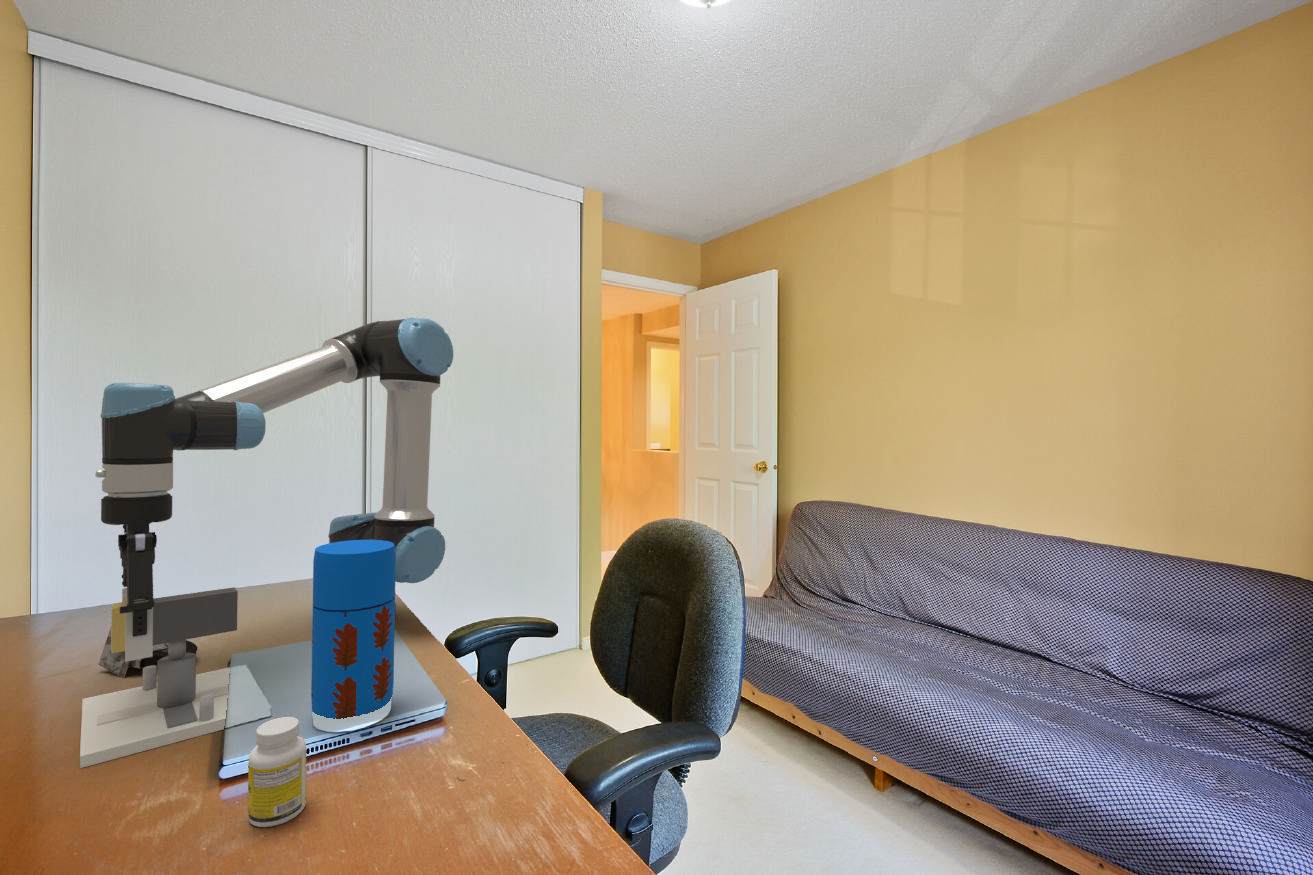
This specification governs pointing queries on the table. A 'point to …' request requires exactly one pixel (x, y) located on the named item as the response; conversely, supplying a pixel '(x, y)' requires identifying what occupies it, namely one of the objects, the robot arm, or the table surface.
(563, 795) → the table surface
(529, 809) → the table surface
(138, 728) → the base plate
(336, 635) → the thermos
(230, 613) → the grey yellow rectangular block
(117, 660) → the caster wheel
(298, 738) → the supplement bottle
